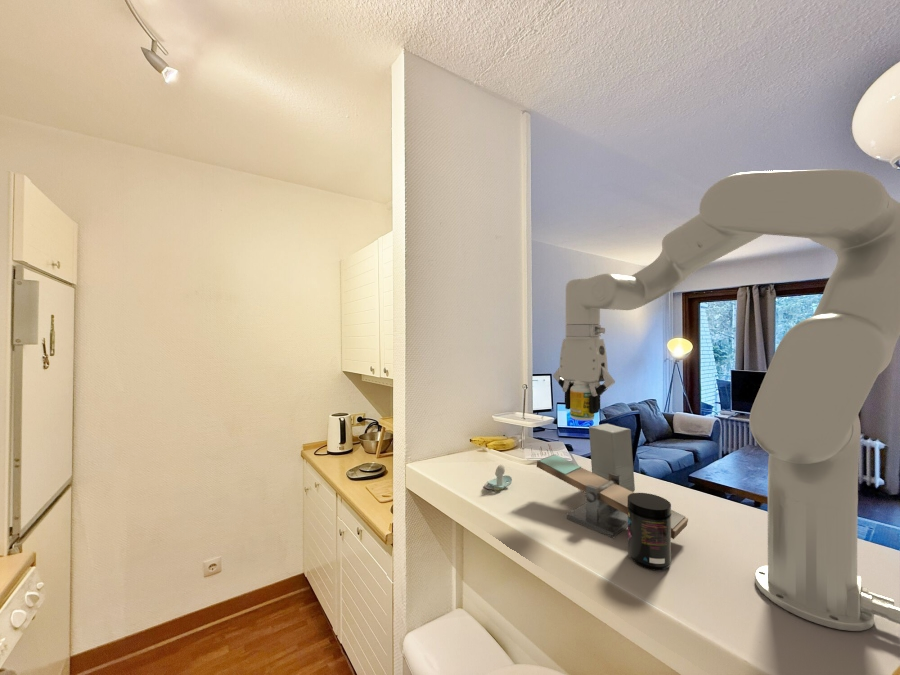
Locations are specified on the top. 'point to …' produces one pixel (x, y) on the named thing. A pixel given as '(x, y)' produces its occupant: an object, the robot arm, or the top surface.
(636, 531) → the supplement container
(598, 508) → the beam stand
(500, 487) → the pacifier
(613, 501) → the beam
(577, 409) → the supplement bottle
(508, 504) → the top surface
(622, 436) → the skincare box
